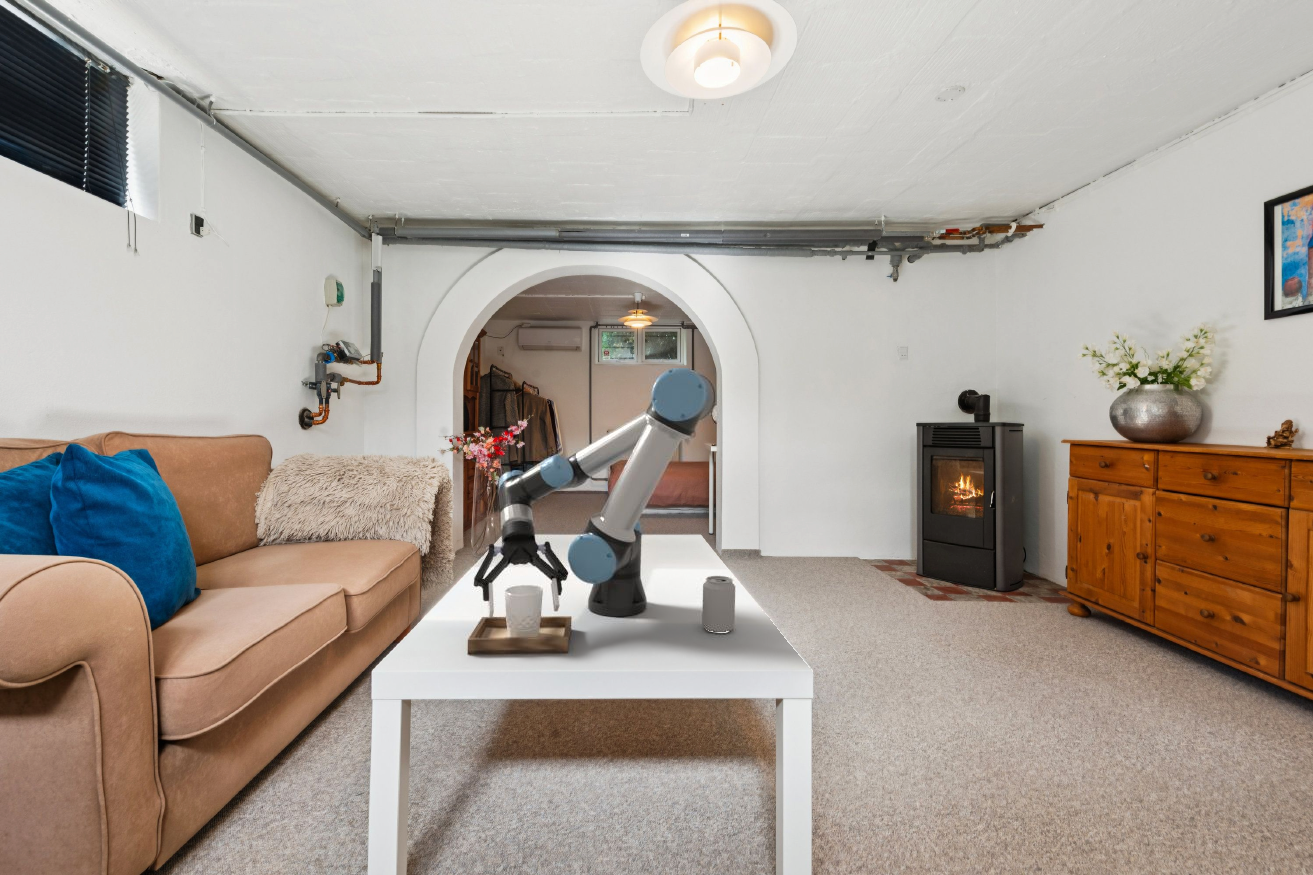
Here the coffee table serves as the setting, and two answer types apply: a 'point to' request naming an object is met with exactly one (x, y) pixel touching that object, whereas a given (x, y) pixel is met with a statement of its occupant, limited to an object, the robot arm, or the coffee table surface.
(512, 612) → the white cup
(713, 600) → the can
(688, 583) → the coffee table surface
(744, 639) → the coffee table surface
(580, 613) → the coffee table surface
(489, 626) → the walnut tray
